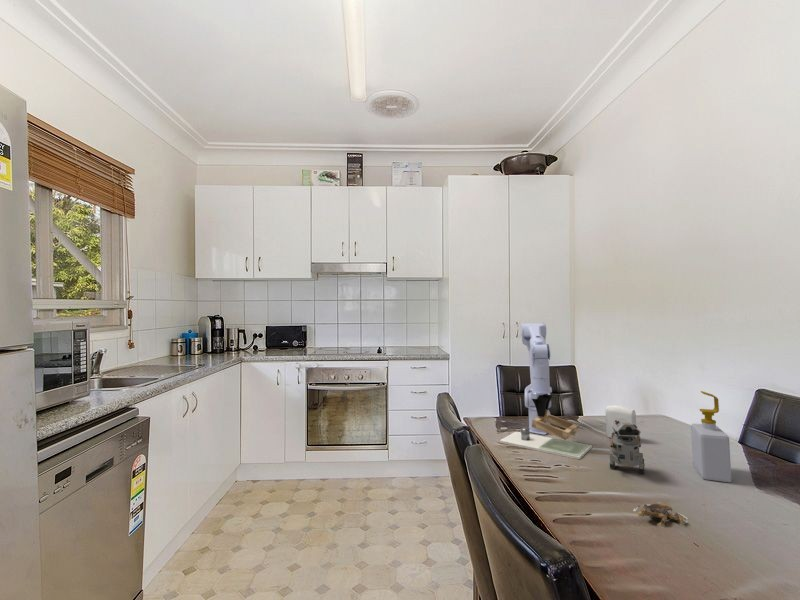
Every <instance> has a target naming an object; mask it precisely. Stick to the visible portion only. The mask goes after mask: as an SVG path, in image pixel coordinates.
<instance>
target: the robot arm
mask: <svg viewBox="0 0 800 600" xmlns="http://www.w3.org/2000/svg"><path fill="white" fill-rule="evenodd" d="M520 334H521V342H522V344H523V345H525V346H526V348H527V351H528V359H529V361H528V362H529V374H530V375H529V376H530V384H529V385H527V386H526V387H525V388H524V406H525V408H528V428H529V430H530V434H536V435H541V436H546V435H547V434H548V433H546V432H544V431H541V430H539V429H536V428H534V427H532V421H533V419H535V418H537V417H538V416H541V417H544V416H545V409H546V410H548V412H547V414H550V415H551V412H550V408H551V407H552V399H553V395H552V394H551V393H553V389H552V387H551V386H550V385H551V384H550V360H551V347H550V345H549V343H547V342H546V340H547V339H546V338H547V325H546V323H545V322H536V323H535V322H532V323H531V322H530V323H529V322H528V323H524V322H522V323H520ZM537 414H538V416H537ZM546 423H547V424H549V425H552V423H549V422H546Z"/></svg>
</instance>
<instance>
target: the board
mask: <svg viewBox="0 0 800 600" xmlns="http://www.w3.org/2000/svg"><path fill="white" fill-rule="evenodd" d="M552 438H553V437H549V436H548V437H547V436H544V435H539V434H533V433H530V440H528V441H525V440H522V439H521V431H514V432H512V433H510V434H509V435H507V436H505V437H503V438H502V439H500V440H499V441H498V442H499V444H503V445H509V446H513V447H517V448H523V449H528V450H532V451H537V452H542V453H547V454H551V455H556V456H561V457H567V458H571V459H575V460H581V459H582V458H583V457H584V456H585V455H586V454H587V453H588V452H589V451H590V450H591V449H592V448H593V445H591V444H589V445H590V446H589V447H588V448H587V449H585V450H584V451H583V452H582V453H581V454H580V455H579V456H575V455H570V454H565V453H560V452H555V451H550V450H545V449H541V448H539V447H540V446H542V445H543V444H544V443H546V442H547V441H549V440H550V439H552Z"/></svg>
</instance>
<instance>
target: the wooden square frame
mask: <svg viewBox="0 0 800 600" xmlns="http://www.w3.org/2000/svg"><path fill="white" fill-rule="evenodd" d="M548 410H549V409H548ZM548 410H546V409H545V416H544V417H541V416H538V414H537V416H538V417H537V418H535V419H533V421H532V427H534V428H536V429H539V430H541V431H544V432H546V433H547V434H550V435H551V436H554V437H556V438H558V439H561V440H566V441H568V439H570V438H571V437H573V436H574V435H575V434H577V433H578V432H579V428H580V424H578V423H574V422H572V421H569V420H567V419H563V418H560V417H559V416H555V415H552V414H551V413H550V414H547V412H548ZM546 422H549V423H551V425H549V424H547V423H546ZM557 426H558V427H557ZM559 427H560V428H559ZM562 428H563V429H562Z"/></svg>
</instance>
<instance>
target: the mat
mask: <svg viewBox="0 0 800 600" xmlns="http://www.w3.org/2000/svg"><path fill="white" fill-rule="evenodd" d="M551 438H552V439H550V440H549V441H547V442H546V443H544V444H543V445H542V446H540V447H539V448H541V449H545V450H550V451H555V452H560V453H565V454H570V455H575V456H579V455H580V454H581V453H582V452H583V451H584V450H585V449H587V448H588V447H589V446H590V445H591V444H586V443H581V442H576V441H571V440H564V439H561V438H553V437H551Z"/></svg>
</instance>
